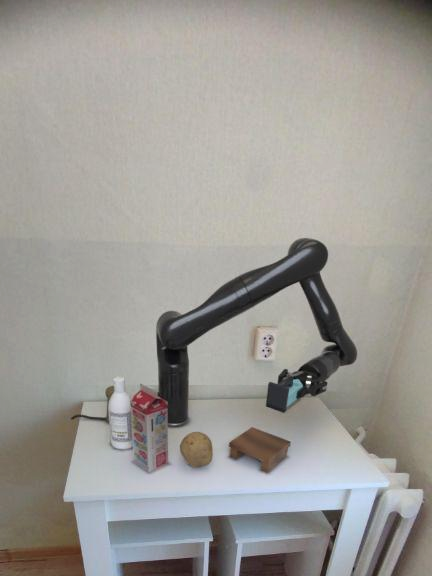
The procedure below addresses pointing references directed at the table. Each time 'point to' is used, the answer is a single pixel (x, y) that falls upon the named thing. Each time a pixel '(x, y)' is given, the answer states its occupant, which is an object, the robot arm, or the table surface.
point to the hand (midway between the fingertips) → (287, 391)
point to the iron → (283, 394)
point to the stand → (260, 447)
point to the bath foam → (120, 416)
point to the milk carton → (149, 429)
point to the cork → (109, 393)
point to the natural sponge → (196, 449)
